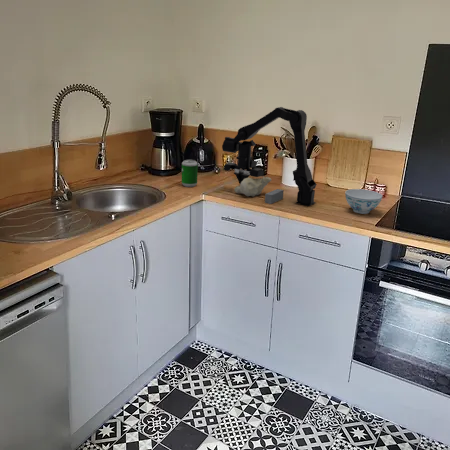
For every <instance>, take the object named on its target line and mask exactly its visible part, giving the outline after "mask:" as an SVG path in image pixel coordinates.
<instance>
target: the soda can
mask: <svg viewBox="0 0 450 450" xmlns="http://www.w3.org/2000/svg"><path fill="white" fill-rule="evenodd" d="M198 166H199V165H198V162H197V161H196V160H195V159H184V160H183V161H182V162H181V184H182V185H183V186H184V187H186V188H193V187H196V186H197V185H198V170H199V169H198Z"/></svg>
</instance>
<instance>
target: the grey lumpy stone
mask: <svg viewBox="0 0 450 450" xmlns="http://www.w3.org/2000/svg"><path fill="white" fill-rule="evenodd" d="M261 177H263V178H261ZM261 177H260V178H258V177H257V178H253V177H248V178H245V179H244V180H243V181H242V182H241V184H239V185H237V186H235V188H234V192H235V193H236V194H242V195H245V196H246V197H252V198H254V197H255V196H259V195H261V194H262V192H263V190H264V189H265V187H266V186H268V184H269V183H270V182H271V181H272V178H271V177H269V176H266V177H265V176H264V175H262V176H261Z"/></svg>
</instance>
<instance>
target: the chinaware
mask: <svg viewBox="0 0 450 450" xmlns="http://www.w3.org/2000/svg"><path fill="white" fill-rule="evenodd" d="M344 194H345V201H346V202H347V205H349V207H351V208H352V212H354V213H356V214H363V215H367V214H369V213H370V212H371V211H372V210H375V208H377V207H378V206H379V204H380V203H381V201H382V199H383V194H382V193H380V192H377V191H373V190H370V189H362V188H350V189H347V190H346V191H344Z"/></svg>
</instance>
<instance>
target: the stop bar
mask: <svg viewBox="0 0 450 450" xmlns="http://www.w3.org/2000/svg"><path fill="white" fill-rule="evenodd" d="M283 199H284V189H280V188H277V189H274V190H271V191H269V192H267V193H265V195H264V203H265V204H269V205H272V204H275V203H276V202H278V201H281V200H283Z"/></svg>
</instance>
